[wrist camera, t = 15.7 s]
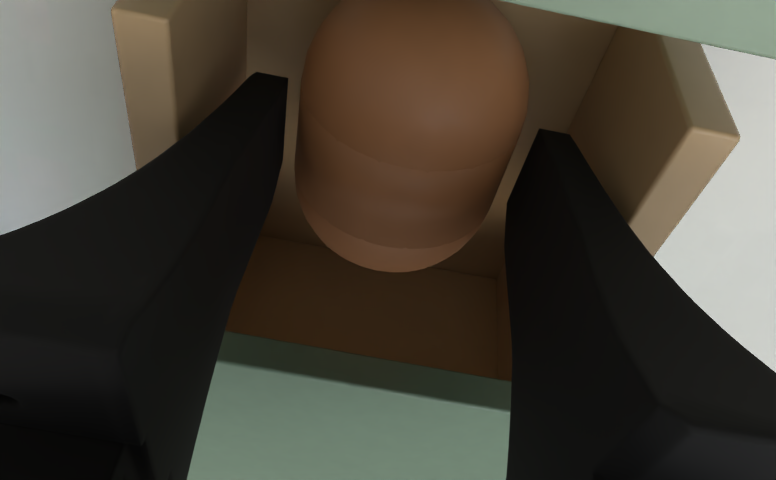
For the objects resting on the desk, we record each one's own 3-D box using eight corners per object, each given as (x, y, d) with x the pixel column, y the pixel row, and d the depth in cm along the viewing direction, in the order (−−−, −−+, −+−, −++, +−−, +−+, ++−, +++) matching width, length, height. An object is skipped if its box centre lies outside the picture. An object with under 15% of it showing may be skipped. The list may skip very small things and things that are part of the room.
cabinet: (189, 109, 18) (73, 337, 13) (589, 188, 19) (629, 433, 14) (207, 361, 28) (146, 544, 23) (467, 406, 29) (464, 594, 24)
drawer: (142, -860, 7) (-275, -1349, 3) (1017, -611, 8) (1572, -762, 4) (205, 213, 20) (138, 379, 16) (534, 275, 20) (547, 450, 16)
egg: (469, 194, 17) (464, 329, 14) (308, 161, 16) (269, 291, 14) (557, -41, 12) (575, 88, 9) (334, -91, 12) (282, 25, 9)
